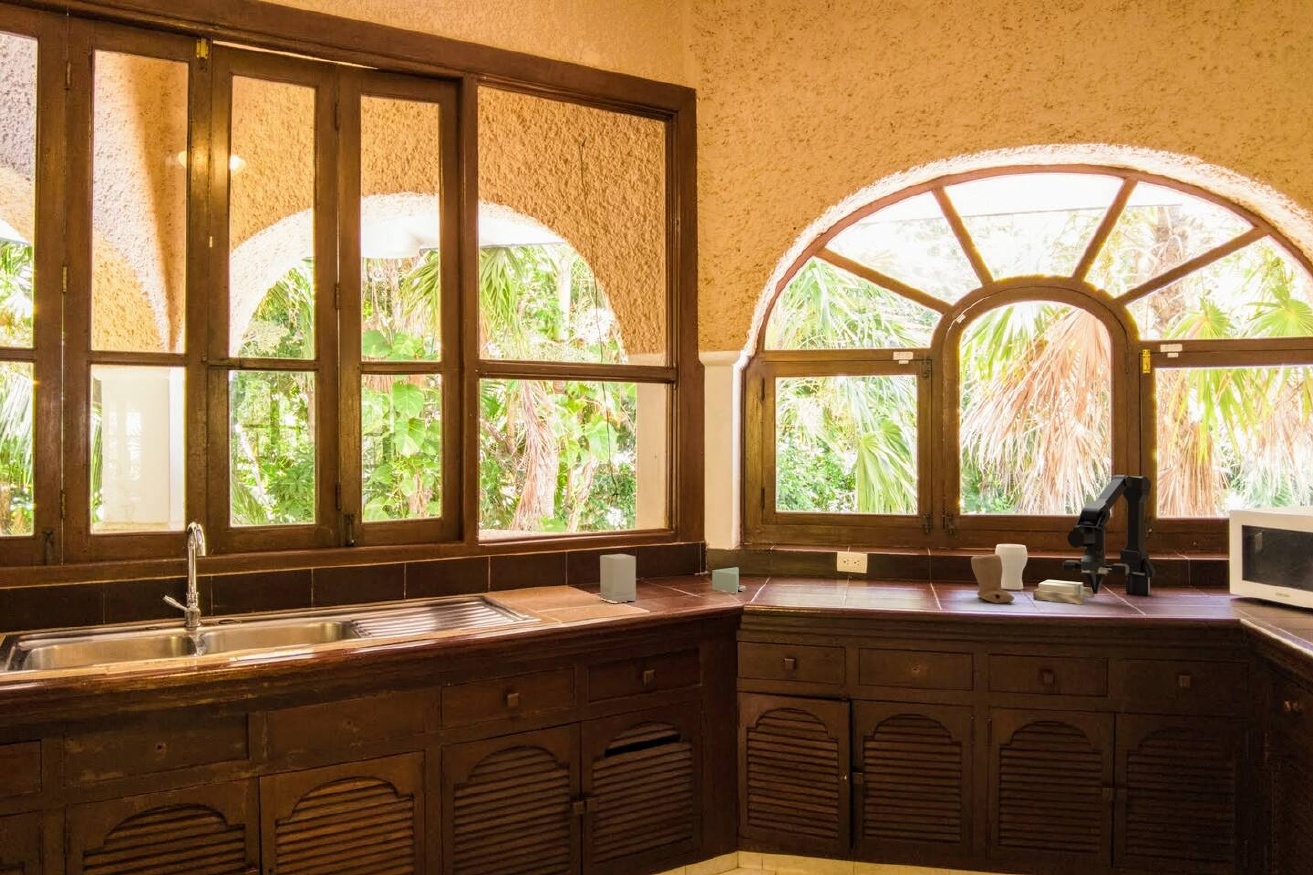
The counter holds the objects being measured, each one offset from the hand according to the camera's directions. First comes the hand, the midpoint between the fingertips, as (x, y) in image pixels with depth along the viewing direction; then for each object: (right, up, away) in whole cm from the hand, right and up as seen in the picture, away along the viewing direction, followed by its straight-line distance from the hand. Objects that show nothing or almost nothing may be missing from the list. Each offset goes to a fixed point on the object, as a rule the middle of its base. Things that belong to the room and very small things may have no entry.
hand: (1095, 593), depth 288 cm
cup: (-17, -3, +27) cm, 32 cm away
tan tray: (-7, -2, +5) cm, 9 cm away
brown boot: (-32, -3, +4) cm, 33 cm away
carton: (-8, -3, +6) cm, 11 cm away
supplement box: (-154, -4, +6) cm, 154 cm away
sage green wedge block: (-114, -4, +26) cm, 116 cm away
